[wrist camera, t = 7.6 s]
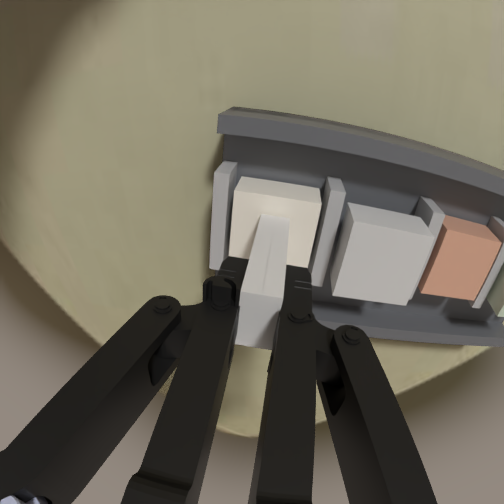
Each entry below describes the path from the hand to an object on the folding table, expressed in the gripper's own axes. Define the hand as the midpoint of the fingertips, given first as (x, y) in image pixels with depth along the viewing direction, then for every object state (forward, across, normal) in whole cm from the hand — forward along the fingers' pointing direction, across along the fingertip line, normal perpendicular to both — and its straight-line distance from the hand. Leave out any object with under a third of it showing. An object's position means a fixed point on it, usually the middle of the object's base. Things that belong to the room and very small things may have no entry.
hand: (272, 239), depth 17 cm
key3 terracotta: (+3, +12, 0) cm, 12 cm away
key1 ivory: (+3, 0, 0) cm, 3 cm away
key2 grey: (+1, +6, 0) cm, 6 cm away
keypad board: (+5, +9, 0) cm, 10 cm away
